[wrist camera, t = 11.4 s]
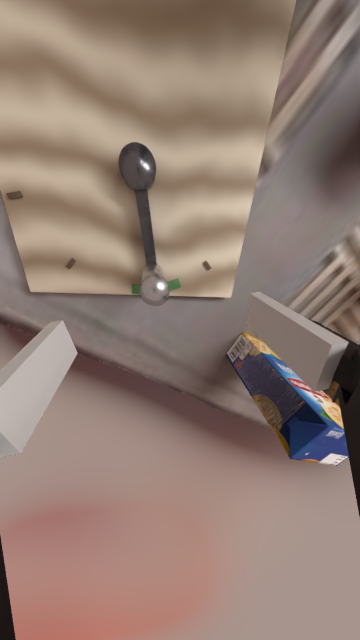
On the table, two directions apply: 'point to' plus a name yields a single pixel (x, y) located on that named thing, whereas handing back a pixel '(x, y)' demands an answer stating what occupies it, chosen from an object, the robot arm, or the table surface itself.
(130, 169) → the grey long handled part
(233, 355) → the beverage box
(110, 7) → the dial board
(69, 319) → the table surface
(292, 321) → the robot arm
